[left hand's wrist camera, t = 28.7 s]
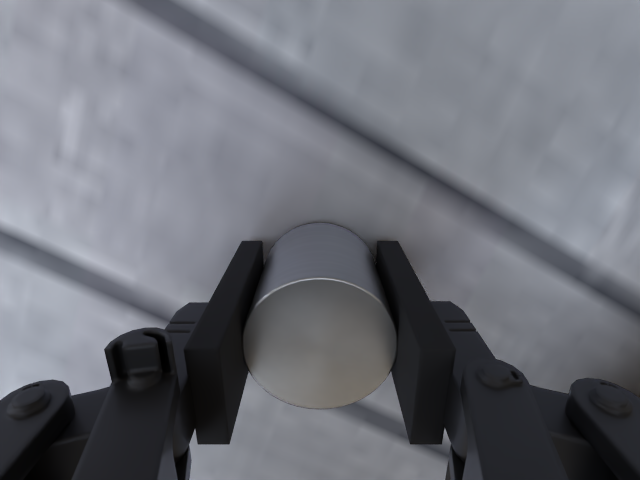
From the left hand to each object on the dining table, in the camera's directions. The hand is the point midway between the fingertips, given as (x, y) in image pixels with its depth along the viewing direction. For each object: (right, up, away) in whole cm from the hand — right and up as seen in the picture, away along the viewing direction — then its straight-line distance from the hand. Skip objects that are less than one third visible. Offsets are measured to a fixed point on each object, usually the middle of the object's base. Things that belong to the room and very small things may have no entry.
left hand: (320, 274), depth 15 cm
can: (0, 0, 0) cm, 0 cm away
